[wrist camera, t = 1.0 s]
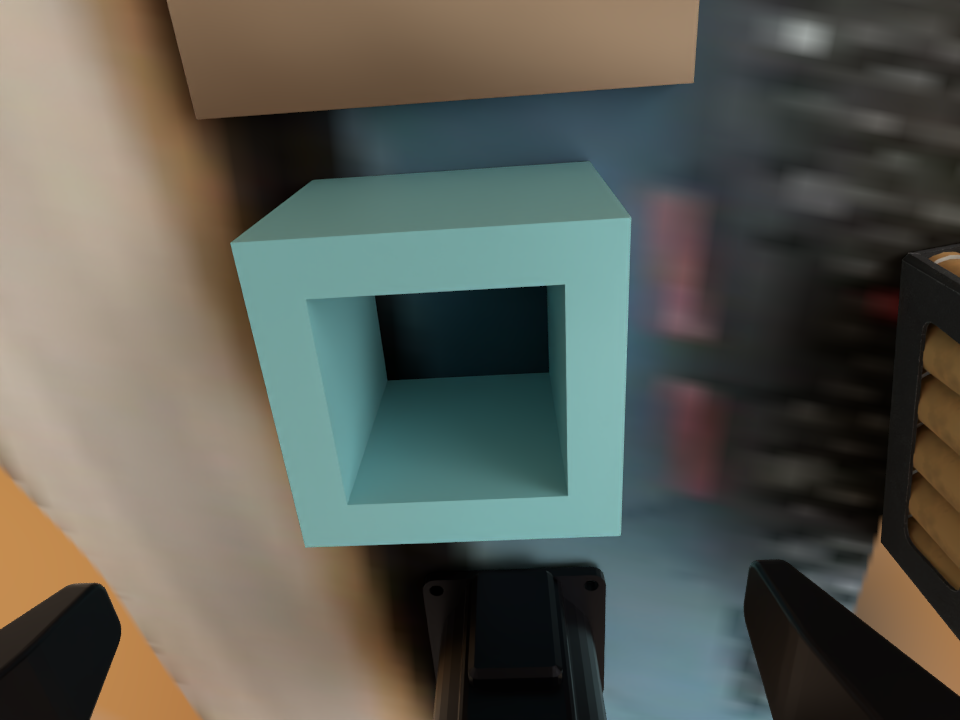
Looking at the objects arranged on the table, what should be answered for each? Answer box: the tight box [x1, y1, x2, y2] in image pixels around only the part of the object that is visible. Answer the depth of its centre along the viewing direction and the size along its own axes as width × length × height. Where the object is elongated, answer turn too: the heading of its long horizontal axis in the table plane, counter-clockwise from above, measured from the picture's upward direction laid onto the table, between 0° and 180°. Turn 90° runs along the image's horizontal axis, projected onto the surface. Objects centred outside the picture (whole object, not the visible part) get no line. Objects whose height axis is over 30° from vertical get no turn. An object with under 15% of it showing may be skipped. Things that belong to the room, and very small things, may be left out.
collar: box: [230, 161, 631, 548], centre depth 16 cm, size 7×7×6 cm
